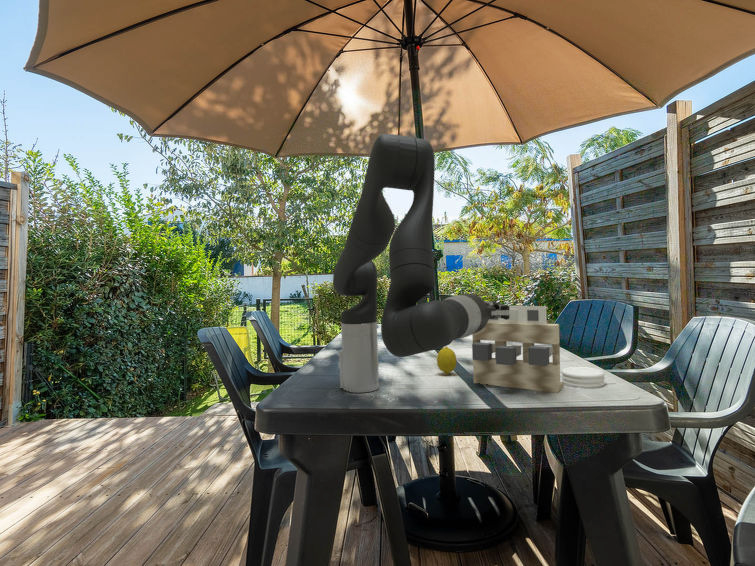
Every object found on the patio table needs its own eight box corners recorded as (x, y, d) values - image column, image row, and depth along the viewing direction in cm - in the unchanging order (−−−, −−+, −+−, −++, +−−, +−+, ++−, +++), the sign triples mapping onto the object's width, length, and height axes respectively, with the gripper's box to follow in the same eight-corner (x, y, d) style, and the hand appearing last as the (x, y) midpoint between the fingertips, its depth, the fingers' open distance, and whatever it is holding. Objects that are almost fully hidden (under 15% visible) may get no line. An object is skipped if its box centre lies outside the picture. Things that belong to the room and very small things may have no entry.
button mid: (496, 364, 109) (495, 347, 109) (509, 356, 117) (508, 341, 117) (512, 365, 107) (512, 348, 107) (525, 358, 115) (524, 342, 115)
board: (473, 383, 119) (472, 322, 119) (482, 378, 124) (480, 320, 124) (557, 392, 108) (556, 325, 107) (563, 387, 112) (561, 322, 112)
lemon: (456, 376, 127) (455, 348, 127) (436, 376, 128) (435, 348, 128) (457, 372, 132) (456, 345, 132) (438, 372, 133) (437, 345, 133)
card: (481, 322, 118) (481, 305, 118) (483, 322, 119) (482, 305, 118) (545, 324, 109) (545, 306, 109) (546, 324, 110) (546, 306, 109)
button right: (528, 364, 107) (528, 347, 107) (539, 357, 115) (539, 341, 115) (546, 366, 105) (545, 348, 105) (556, 358, 113) (555, 342, 113)
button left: (472, 359, 115) (472, 344, 115) (486, 353, 123) (486, 338, 123) (487, 361, 113) (487, 345, 113) (501, 354, 121) (500, 339, 121)
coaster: (555, 385, 115) (555, 371, 115) (570, 377, 123) (569, 364, 122) (597, 391, 108) (597, 376, 108) (610, 382, 116) (609, 369, 116)
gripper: (496, 296, 77) (524, 289, 92) (427, 294, 85) (463, 287, 99) (496, 340, 78) (525, 325, 92) (427, 334, 85) (463, 321, 100)
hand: (493, 306), depth 96 cm, fingers closed
